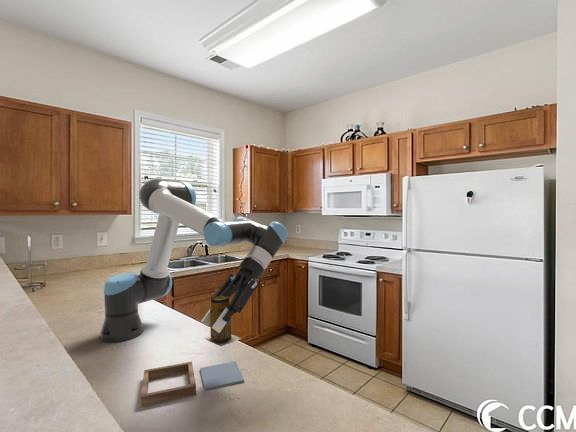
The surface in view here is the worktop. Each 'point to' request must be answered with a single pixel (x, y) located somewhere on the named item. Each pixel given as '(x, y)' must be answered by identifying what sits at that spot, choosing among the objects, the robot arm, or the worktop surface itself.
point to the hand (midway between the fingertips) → (210, 327)
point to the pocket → (168, 393)
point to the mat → (221, 375)
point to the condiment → (215, 311)
